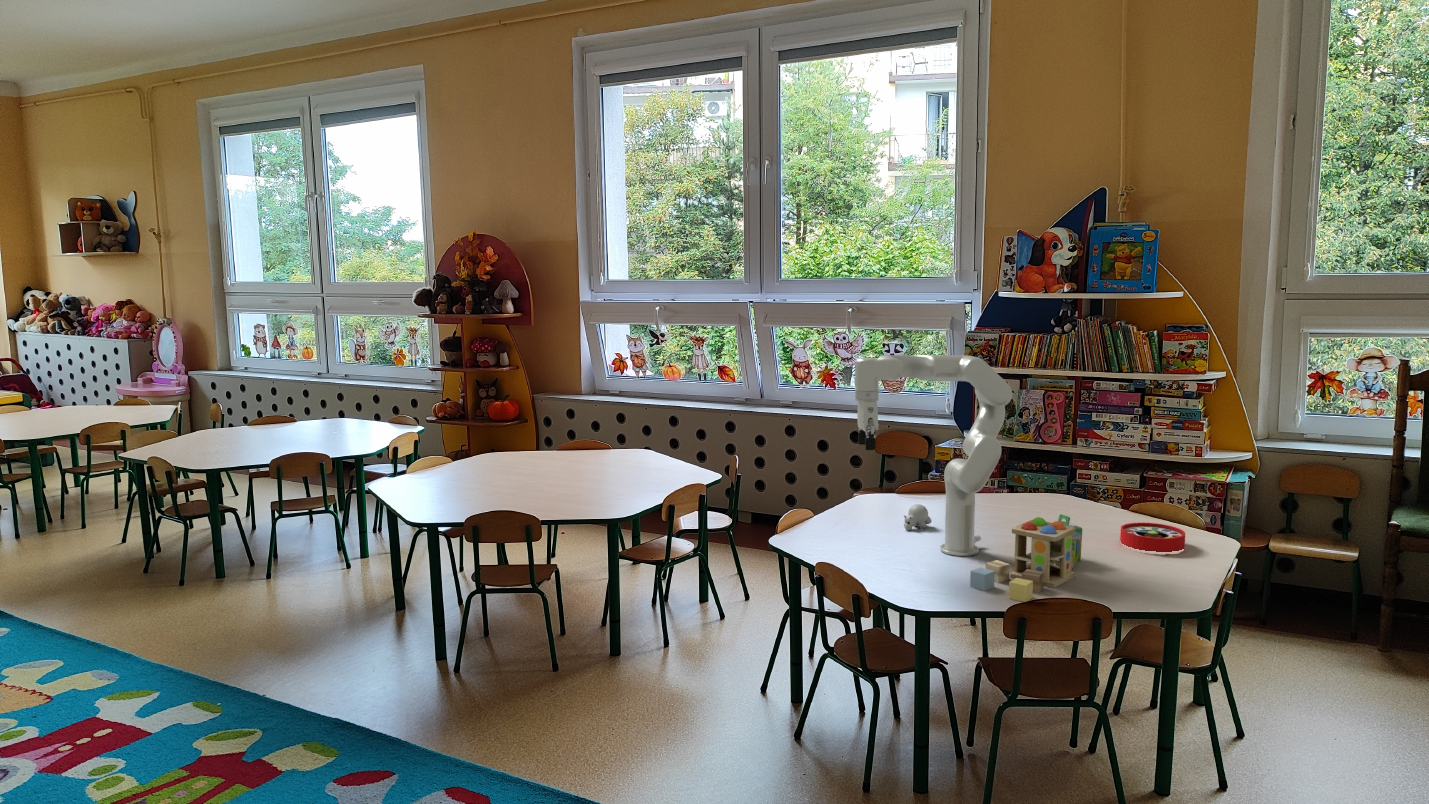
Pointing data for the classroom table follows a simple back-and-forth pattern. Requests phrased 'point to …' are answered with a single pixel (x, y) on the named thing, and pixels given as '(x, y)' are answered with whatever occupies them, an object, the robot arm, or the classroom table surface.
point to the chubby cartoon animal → (917, 517)
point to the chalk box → (1074, 538)
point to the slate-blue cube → (982, 579)
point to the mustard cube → (1020, 589)
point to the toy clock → (1152, 537)
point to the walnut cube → (1034, 579)
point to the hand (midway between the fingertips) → (866, 447)
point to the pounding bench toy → (1044, 550)
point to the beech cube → (999, 570)
